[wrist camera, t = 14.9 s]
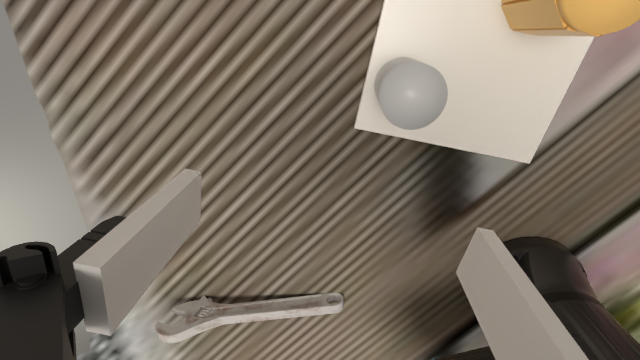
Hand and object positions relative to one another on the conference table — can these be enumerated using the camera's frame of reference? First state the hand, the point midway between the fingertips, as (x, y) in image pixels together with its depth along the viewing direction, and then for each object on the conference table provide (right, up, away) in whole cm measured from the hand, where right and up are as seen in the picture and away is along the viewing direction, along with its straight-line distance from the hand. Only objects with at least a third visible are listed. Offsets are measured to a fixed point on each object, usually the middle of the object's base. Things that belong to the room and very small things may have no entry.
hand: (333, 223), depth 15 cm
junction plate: (+16, +17, +20) cm, 31 cm away
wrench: (-11, -18, +39) cm, 45 cm away
